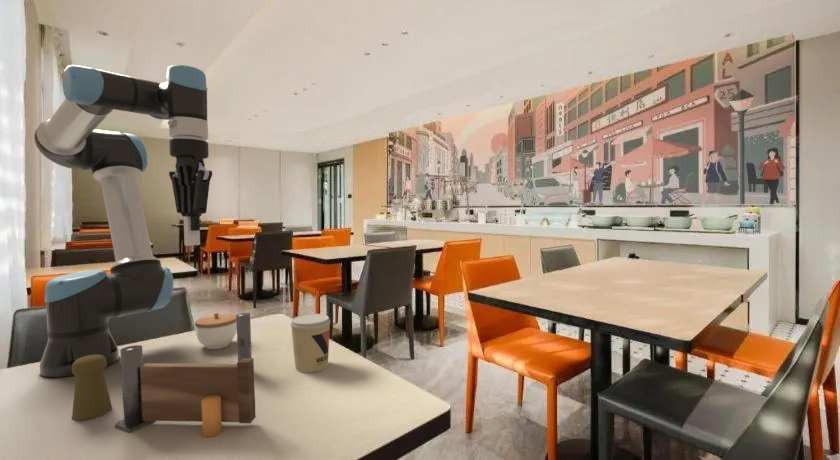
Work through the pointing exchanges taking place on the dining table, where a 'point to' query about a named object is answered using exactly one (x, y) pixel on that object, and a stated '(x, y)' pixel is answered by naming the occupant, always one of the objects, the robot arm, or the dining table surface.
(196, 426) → the dining table surface
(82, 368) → the cork
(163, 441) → the dining table surface
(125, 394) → the gate frame
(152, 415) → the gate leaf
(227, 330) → the lidded jar
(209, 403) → the post
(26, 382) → the dining table surface
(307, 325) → the coffee cup
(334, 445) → the dining table surface
